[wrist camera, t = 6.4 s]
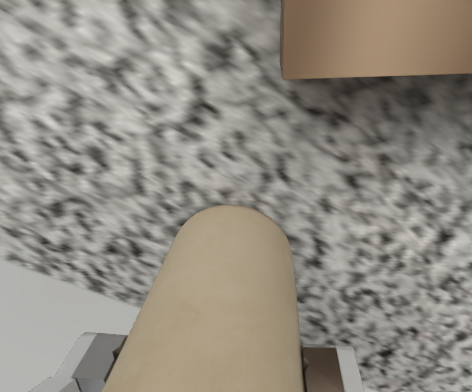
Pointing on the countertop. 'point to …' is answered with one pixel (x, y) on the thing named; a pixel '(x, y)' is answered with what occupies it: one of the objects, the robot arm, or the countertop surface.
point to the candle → (218, 312)
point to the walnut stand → (375, 38)
